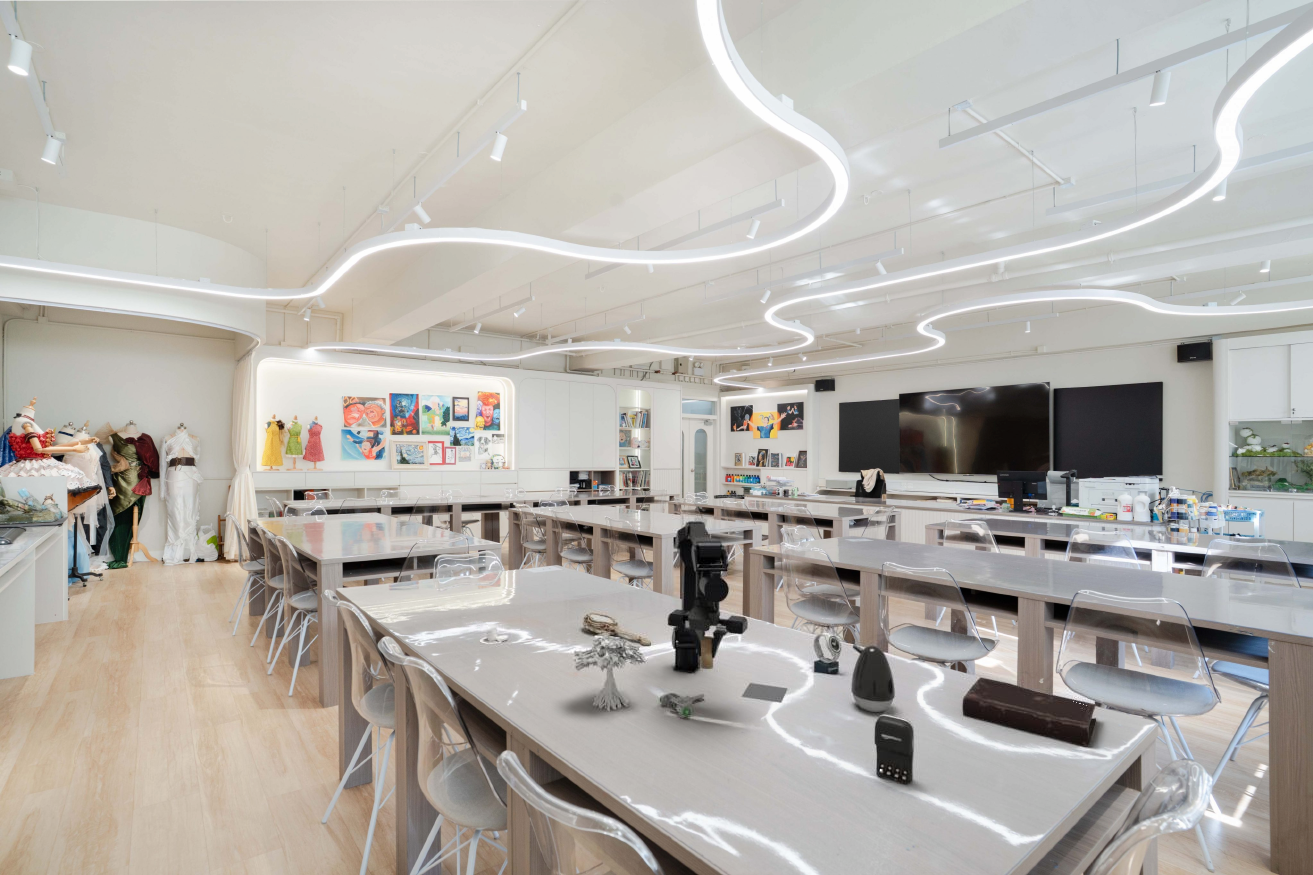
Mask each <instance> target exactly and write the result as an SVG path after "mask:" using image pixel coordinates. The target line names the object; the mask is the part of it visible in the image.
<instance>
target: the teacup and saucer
mask: <svg viewBox="0 0 1313 875" xmlns="http://www.w3.org/2000/svg"><path fill="white" fill-rule="evenodd" d="M486 632H487V634H486ZM483 633H484V636H485V637H482V638H480V639H479V642H480V643H482V644H488V645H493V644H499V643H502V642H504V641H507V640H508V639H509V636H508V635H507V634H505V635H504V634H503V635H498V634H497V633H498V628H497V627H489V628H487V629H485V630H484V632H483ZM485 639H487V640H488V641H489V642H486V641H484V640H485ZM495 641H496V642H495Z"/></svg>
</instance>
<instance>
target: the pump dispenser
mask: <svg viewBox="0 0 1313 875" xmlns="http://www.w3.org/2000/svg"><path fill="white" fill-rule="evenodd" d="M852 649H853V650H854V651H856V652H857V653H858V654H859V656H858V657H857V660H856V663H855V665H854V669H853V671H852V677H851V685H850V686H851V687H850V692H851V694H852V696H853V700H854V701H855V703H856V704H857V706H859V707H860V708H861V709H863V710H865V711H868V712H872V713H881V712H884V711H887V710H888V709H890V707H891V705H892V703H893V701H894V699H895V698H896V696H895V695H896V690H895V689H896V688H895V682H894V676H893V672H892V669H891V666H890V663H889V661H888V660H889V659H888V657H887V656H886V654H885V653H884V650H882V649H881V648H880V647H878V646H877V645H871V644H870V645H867V646H866V647H864V648H862V647H860V646H858V644H857V645H856V644H853V645H852Z"/></svg>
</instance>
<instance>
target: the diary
mask: <svg viewBox="0 0 1313 875" xmlns="http://www.w3.org/2000/svg"><path fill="white" fill-rule="evenodd" d="M1073 701H1074V702H1073ZM1076 702H1077V703H1076ZM1079 703H1081V704H1079ZM1083 704H1084V705H1083ZM1086 705H1087V706H1086ZM1096 706H1097V704H1096V703H1092V702H1087V701H1081V700H1079V699H1078V700H1077V699H1073V698H1068V697H1065V696H1064V697H1063V696H1061V695H1055V694H1050V693H1046V692H1043V691H1042V692H1041V691H1037V690H1033V689H1030V688H1026V687H1023V686H1020V685H1016V684H1012V683H1008V682H1005V681H1000V680H995V679H990V678H986V677H980V676H979V678H978V679H977V680H976V681H975V683H974V684H973V685H972V686H971V687H970V689H969V690H968V691H967V692H966V693H965V695H964V696H963V698H962V715H963V716H965V717H968V718H973V719H976V720H981V721H986V722H990V723H993V724H997V725H1001V726H1004V727H1008V728H1013V729H1017V730H1019V731H1024V732H1028V733H1032V734H1036V735H1039V736H1044V737H1047V738H1052V739H1055V740H1059V741H1062V742H1067V743H1070V744H1074V745H1078V746H1082V747H1086V748H1089V747H1090V743H1091V742H1092V737H1093V734H1094V730H1095V728H1096V724H1097V718H1096V717H1094V718H1093V715H1094V711H1095V709H1096Z"/></svg>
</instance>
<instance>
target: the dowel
mask: <svg viewBox="0 0 1313 875" xmlns="http://www.w3.org/2000/svg"><path fill="white" fill-rule="evenodd" d="M713 638H714V637H713V636H710V635H709V636H708V635H705V636H703V637H701V666H700V668H701V669H704V670H712V669H714V658H712V649H713Z"/></svg>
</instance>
